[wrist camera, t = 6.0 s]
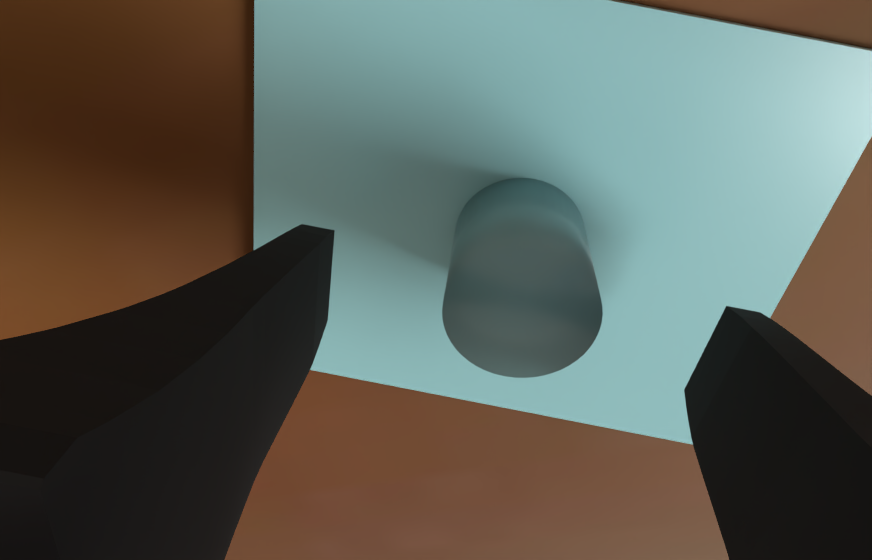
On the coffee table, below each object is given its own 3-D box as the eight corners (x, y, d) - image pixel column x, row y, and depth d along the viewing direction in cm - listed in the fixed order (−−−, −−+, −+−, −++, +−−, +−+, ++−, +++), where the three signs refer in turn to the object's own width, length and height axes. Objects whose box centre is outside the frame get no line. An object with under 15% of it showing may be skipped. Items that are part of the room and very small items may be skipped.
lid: (885, 48, 12) (1039, 107, 8) (688, 418, 17) (734, 548, 13) (273, -70, 12) (174, -60, 8) (266, 335, 17) (204, 444, 13)
